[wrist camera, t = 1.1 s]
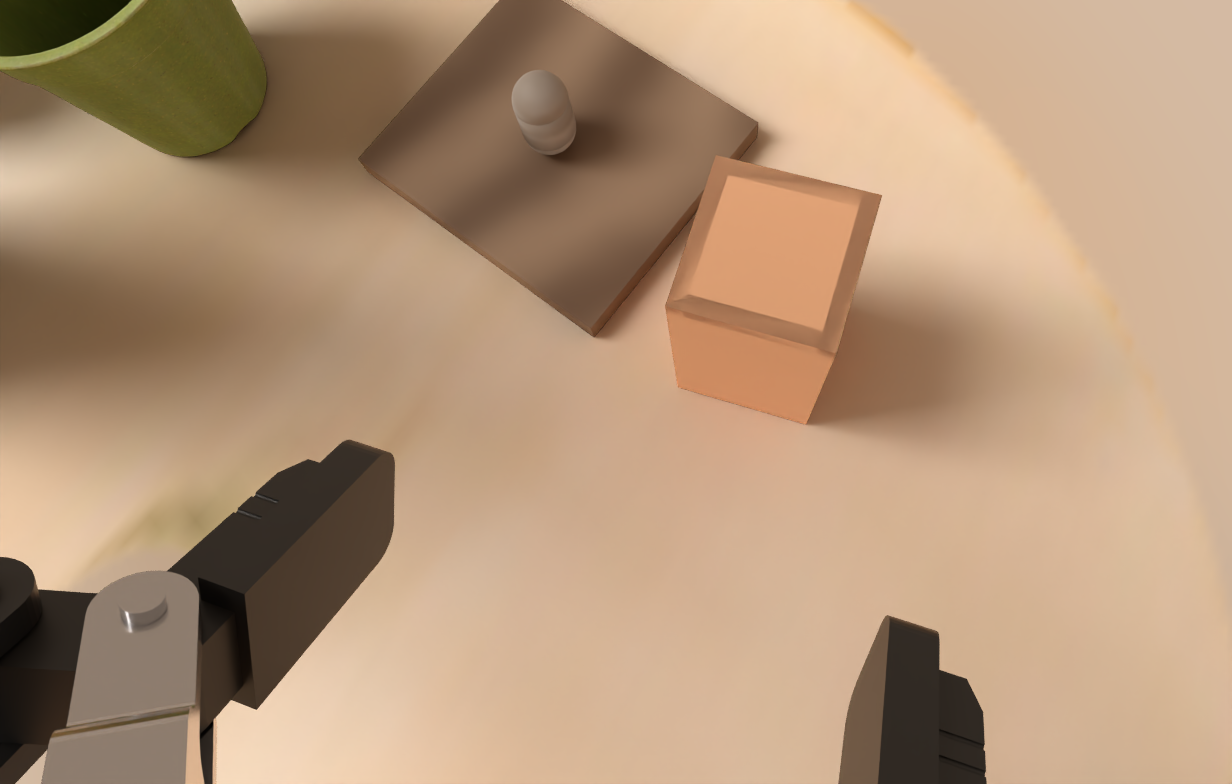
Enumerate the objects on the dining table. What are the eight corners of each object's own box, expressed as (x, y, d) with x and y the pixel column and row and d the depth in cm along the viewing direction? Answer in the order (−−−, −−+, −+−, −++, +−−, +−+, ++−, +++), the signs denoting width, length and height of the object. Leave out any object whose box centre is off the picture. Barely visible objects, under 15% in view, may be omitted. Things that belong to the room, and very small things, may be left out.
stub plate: (367, 171, 43) (316, 104, 38) (526, -8, 45) (499, -97, 39) (594, 337, 40) (574, 290, 34) (757, 137, 41) (763, 61, 36)
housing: (678, 387, 39) (665, 306, 29) (715, 270, 40) (715, 155, 30) (806, 424, 38) (836, 353, 28) (841, 303, 39) (882, 195, 29)
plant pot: (58, 67, 47) (-141, -104, 36) (261, -41, 47) (124, -242, 36) (133, 248, 43) (-60, 120, 33) (351, 129, 44) (231, -36, 33)
